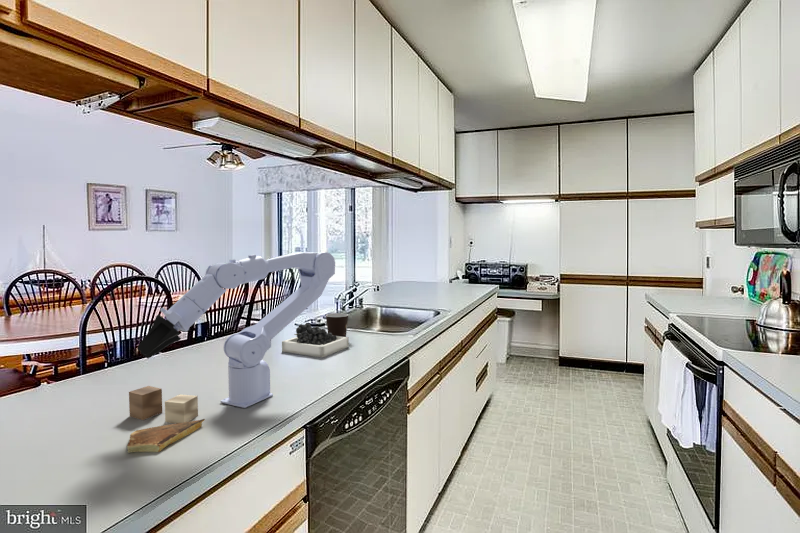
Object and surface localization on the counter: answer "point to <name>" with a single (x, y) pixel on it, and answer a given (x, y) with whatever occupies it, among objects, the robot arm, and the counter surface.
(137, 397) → the walnut block
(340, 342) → the fruit dish
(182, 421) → the maple block
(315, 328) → the fruit
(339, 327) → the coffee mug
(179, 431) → the shard
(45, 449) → the counter surface
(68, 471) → the counter surface
